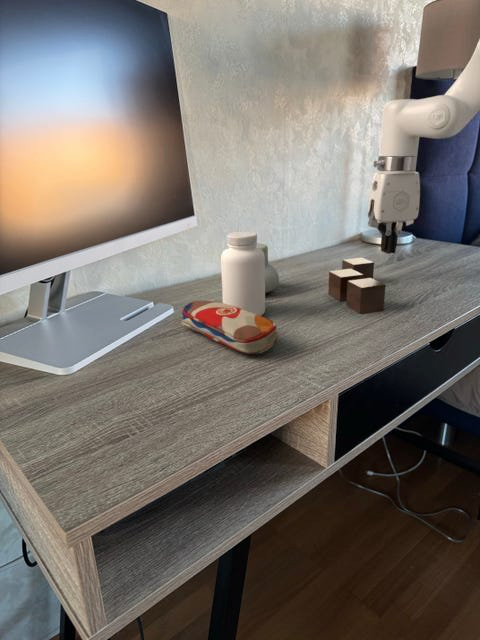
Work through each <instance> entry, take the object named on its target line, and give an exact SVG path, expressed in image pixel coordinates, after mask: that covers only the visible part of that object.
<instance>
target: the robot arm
mask: <svg viewBox="0 0 480 640" xmlns="http://www.w3.org/2000/svg"><path fill="white" fill-rule="evenodd" d="M382 109H383V110H382V117H381V119H382V120H381V128H380V138H379V139H380V141H379V153H378V158H377V160H374V161H373V167H374V168H377V169H376V170H377V172H375V173H374V176H373V179H372V182H371V186H370V192H369V197H368V205H367V218H368V222H367V226H368V227H371V228H375V229H377V230H378V232H379V234H380V235H381V239H380V252H382V253H385V254H387V255H388V254H390V255H391V254H395V253H396V250H397V245H398V243H397V242H398V236H399V235H401V233H402V231H403V230H404V228H405V227H408V226H410V225H414V223H415V221H414V220H416V219H417V218H418V216H419V211H420V201H421V200H420V199H421V181H420V180H421V179H420V173H419V172H418V171H416V169H417V161H418V152H419V143H420V138H427V139H435V140H437V139H439V140H440V139H448V138H452V137H454V136H456V135H457V134H458V133H460V132H461V131H462V130H463V129H464V128H465V127H466V126H467V125H468V124H469V122H470V121H471V120H472V119H473V118H474V117H475V116H476V115H477V113H478V112H479V111H480V38H479V40H478V41H477V44H476V47H475V49H474V52H473V53H472V55H471V57H470V60H469V61H468V63H467V64H466V66H465V68H464V69H463V71H462V72H461V73H460V74H459V76H458V77H457V78H456V80H455V81H454V82H453V83H452V85H451V86H450V87H449V88H448V90H447V91H446V92H445V93H444V94H441V95H440V94H439V95H435V96H430V97H425V98H419V99H415V98H403V99H393V100H390V101H387V102H386V103H385V104H384V106H383V108H382Z"/></svg>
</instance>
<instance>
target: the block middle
mask: <svg viewBox="0 0 480 640" xmlns="http://www.w3.org/2000/svg"><path fill="white" fill-rule="evenodd" d="M358 279H363V274H361V273H359V272H357V271H355V270H353V269H344V270H342V269H337V270H329V271H328V289H327V290H328V291H327V295H328V296H330V297H332V298H333V299H335V300H337V301H338V302H347V283H348V281H350V280H358Z"/></svg>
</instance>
